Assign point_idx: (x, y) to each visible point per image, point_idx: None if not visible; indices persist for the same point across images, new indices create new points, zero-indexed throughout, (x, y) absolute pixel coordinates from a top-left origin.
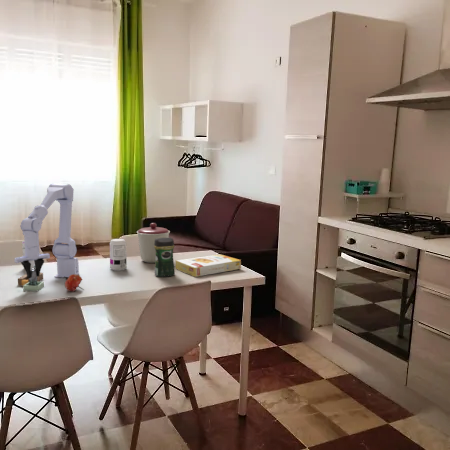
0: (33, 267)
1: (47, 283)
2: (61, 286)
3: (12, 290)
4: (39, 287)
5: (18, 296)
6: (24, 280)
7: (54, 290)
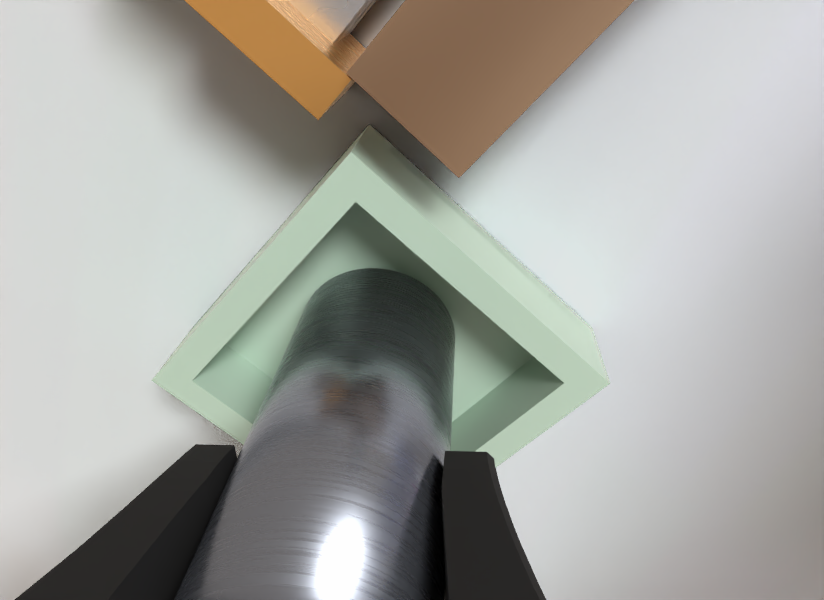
0: None
1: (788, 145)
2: (818, 495)
3: (11, 200)
4: None
5: (83, 536)
6: (239, 45)
7: (596, 592)
